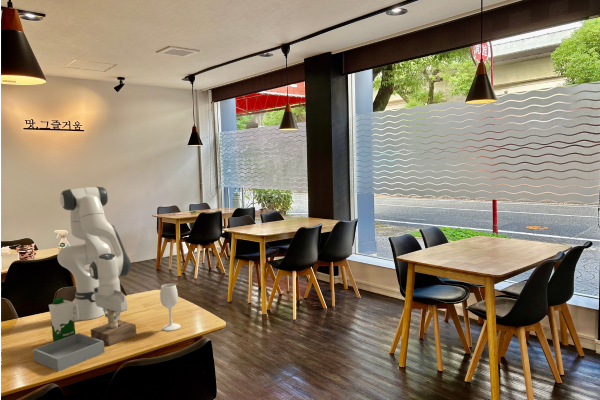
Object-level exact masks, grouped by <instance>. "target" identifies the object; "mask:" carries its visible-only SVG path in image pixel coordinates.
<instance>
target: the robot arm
mask: <svg viewBox="0 0 600 400" xmlns="http://www.w3.org/2000/svg"><path fill="white" fill-rule="evenodd" d="M108 201H109V195H108V192H107V190H106V188H104V186H103V187H102V186H96V187H95V186H90V187H89V186H86V187H85V186H84V187H78V188H72V189H71V188H70V189H69V188H68V189H65V190H63V191H62V192H61V193H60V196H59V202H60V205H61V207H62V209H63V210H65V211H70V215H69V216H70V230H71V233H70V234H72V236H73V237H74V238H77V239H80V240H82V241H84V242H85V243H84V244H77V245H71V246H67V247H63V248H61V249H59V251H58V252H57V257H56V258H57V262H58V263H59V265H60V266H61V267H63V268H65V269H67V270H68V271H69V272H70V273H71V274H72V276H73V278H74V282H75V289H76V291H75V292H74V295H75V296H74V299H73V300H72V301H71V302H74V306H73V314H74V322H79V321H87V320H88V321H89V320H93V319H97V318H100V317H102V316H104V315H105V316H104V317H105V318H108V315H107V309H110V310H113V311H115V313H116V314H115V316H114V319H115V320H120V317H121V316H120V315H121V313H124V312H126V311H128V308H129V307H128V302H127V298H126V295H125V293H123V291H121V282H120V278H119V277H125V276H127V275H128V274H129V273H130V272H131V270H132V263H131V262H132V261H131V259H130V258H129V256H128V254H127V252H126V250H125V248H124V245H123V243H122V240H121V238H120V235H119V233H118V230H117V229H116V227H115V226H114V225H113V224H111V223H110V222H109V221H108V220H107V217H106V214H105V210H104V206H106V205H107V204H108ZM100 238H104V239H106V240H108V241H109V242H110V245H111V247H112V249H113V252H114V253H112V250H111V247H110V245H109V244H108V243H106V242H105V241H103V240H101V239H100ZM86 265H89V266H88V268H89V269H87V268H86V267H85V266H86Z"/></svg>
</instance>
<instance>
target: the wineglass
mask: <svg viewBox="0 0 600 400" xmlns="http://www.w3.org/2000/svg"><path fill="white" fill-rule="evenodd" d="M159 291H160V293H159V298H160V299H159V300H160V303H161V305H162V306H163V307H165V308H166V309H168V314H169V323H168V324H166V325H164V326H163V327H162V330H163V331H167V332H169V331H172V332H173V331H175V330H178V329H180V328H181V326H182V325H180V323H175V322H173V317H172V309H173V308H174V307H175V306H176V304H177V303H178V299H179V294H178V289H177V286H176V283H165V284H162V285H161V287H160V290H159Z"/></svg>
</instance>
